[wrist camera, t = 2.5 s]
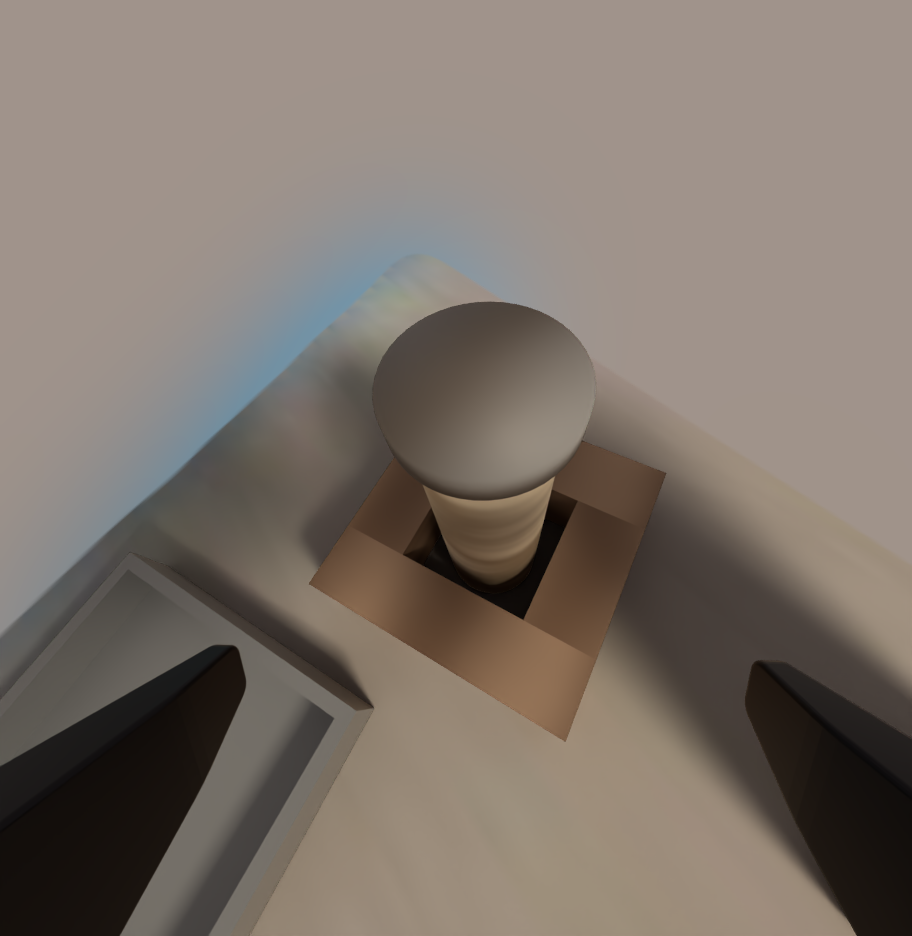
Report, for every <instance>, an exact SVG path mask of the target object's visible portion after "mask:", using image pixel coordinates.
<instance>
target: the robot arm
mask: <svg viewBox="0 0 912 936" xmlns="http://www.w3.org/2000/svg"><path fill="white" fill-rule="evenodd" d="M245 690H246V676H245V672H244V668H243V664H242V660H241V656H240V652H239V649H238V648H237V647H236V646H234V645H219V644H217V645H212V646H210V647H208V648H206V649H205V650H203V651H201V652H199V653H198V654H196V655H194V656H192V657H191V658H189V659H187V660H185V661H184V662H182V663H180V664H178V665H177V666H175V667H173V668H171V669H170V670H168V671H166V672H164V673H163V674H161V675H159V676H157V677H156V678H154V679H152V680H150V681H149V682H147V683H145V684H143V685H142V686H140V687H138V688H136V689H135V690H133V691H131V692H129V693H127V694H126V695H124V696H122V697H120V698H119V699H117V700H115V701H113V702H112V703H110V704H108V705H106V706H105V707H103V708H101V709H99V710H98V711H96V712H94V713H92V714H91V715H89V716H87V717H85V718H84V719H82V720H80V721H78V722H77V723H75V724H73V725H71V726H70V727H68V728H66V729H64V730H63V731H61V732H59V733H57V734H56V735H54V736H52V737H50V738H49V739H47V740H45V741H43V742H42V743H40V744H38V745H36V746H35V747H33V748H31V749H29V750H28V751H26V752H24V753H22V754H20V755H19V756H17V757H15V758H13V759H12V760H10V761H8V762H6V763H5V764H3V765H1V766H0V936H120V935H121V933H122V931H123V930H124V928H125V926H126V924H127V922H128V921H129V919H130V917H131V915H132V913H133V911H134V910H135V908H136V906H137V904H138V902H139V901H140V899H141V897H142V895H143V893H144V892H145V890H146V888H147V886H148V884H149V882H150V881H151V879H152V877H153V875H154V873H155V872H156V870H157V868H158V866H159V864H160V863H161V861H162V859H163V857H164V855H165V853H166V852H167V850H168V848H169V846H170V844H171V843H172V841H173V839H174V837H175V835H176V834H177V832H178V830H179V828H180V826H181V825H182V823H183V821H184V819H185V817H186V815H187V814H188V812H189V810H190V808H191V806H192V805H193V803H194V801H195V799H196V797H197V795H198V793H199V791H200V790H201V788H202V786H203V784H204V782H205V780H206V778H207V776H208V774H209V771H210V769H211V767H212V765H213V763H214V761H215V758H216V756H217V754H218V752H219V749H220V747H221V745H222V743H223V740H224V738H225V736H226V734H227V732H228V729H229V727H230V725H231V723H232V720H233V718H234V716H235V714H236V711H237V709H238V707H239V705H240V703H241V700H242V698H243V696H244V693H245ZM745 707H746V711H747V714H748V717H749V719H750V721H751V724H752V726H753V728H754V731H755V733H756V735H757V737H758V740H759V742H760V744H761V747H762V749H763V751H764V753H765V756H766V758H767V760H768V762H769V765H770V767H771V769H772V772H773V774H774V776H775V778H776V781H777V783H778V785H779V787H780V790H781V792H782V794H783V797H784V799H785V801H786V803H787V805H788V808H789V810H790V812H791V814H792V816H793V818H794V820H795V822H796V824H797V826H798V828H799V830H800V832H801V834H802V836H803V838H804V840H805V842H806V843H807V845H808V847H809V849H810V851H811V853H812V854H813V856H814V858H815V860H816V862H817V864H818V866H819V867H820V869H821V871H822V873H823V875H824V877H825V878H826V880H827V882H828V884H829V886H830V888H831V889H832V891H833V893H834V895H835V897H836V899H837V900H838V902H839V904H840V906H841V908H842V910H843V911H844V913H845V915H846V917H847V919H848V921H849V922H850V924H851V926H852V928H853V930H854V932H855V933H856V935H857V936H912V738H910V737H909V736H907V735H905V734H904V733H902V732H900V731H899V730H897V729H895V728H894V727H892V726H891V725H889V724H887V723H886V722H884V721H882V720H881V719H879V718H877V717H876V716H874V715H872V714H871V713H869V712H867V711H866V710H864V709H862V708H861V707H859V706H857V705H856V704H854V703H852V702H851V701H849V700H847V699H846V698H844V697H842V696H841V695H839V694H837V693H836V692H834V691H832V690H831V689H829V688H827V687H826V686H824V685H822V684H821V683H819V682H817V681H816V680H814V679H812V678H811V677H809V676H807V675H806V674H804V673H802V672H801V671H799V670H798V669H796V668H794V667H793V666H791V665H789V664H787V663H785V662H783V661H769V660H758V661H756V662H754V664H753V665H752V668H751V672H750V677H749V681H748V686H747V691H746V696H745Z"/></svg>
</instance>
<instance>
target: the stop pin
mask: <svg viewBox="0 0 912 936" xmlns="http://www.w3.org/2000/svg"><path fill="white" fill-rule="evenodd" d="M595 397H596V379H595V371H594V368H593V365H592V362H591V359H590V357H589V355H588V353H587V351H586V349H585V348H584V346H583V345H582V344H581V342H580V341H579V340H578V338H577V337H576V336H575V335H574V334H573V333H572V332H571V331H570V330H569V329H567V328H566V327H565V326H564V325H563V324H561V323H560V322H558V321H557V320H555V319H554V318H552V317H550V316H548V315H546V314H544V313H542V312H540V311H537V310H534V309H531V308H528V307H525V306H521V305H517V304H510V303H504V302H475V303H468V304H462V305H458V306H453V307H450V308H447V309H444V310H441V311H438V312H436V313H434V314H431V315H429V316H427V317H425V318H424V319H422V320H420V321H418V322H417V323H415V324H414V325H412V326H411V327H410V328H408V329H407V330H406V331H405V332H404V333H402V334H401V335H400V336H399V337H398V338H397V339H396V340H395V341H394V343H393V344H392V345H391V346H390V347H389V349H388V350H387V352H386V353H385V355H384V356H383V358H382V360H381V362H380V364H379V366H378V369H377V372H376V375H375V378H374V384H373V406H374V412H375V415H376V418H377V421H378V424H379V426H380V428H381V430H382V432H383V435H384V437H385V439H386V441H387V443H388V445H389V447H390V449H391V451H392V453H393V455H394V457H395V458H396V460H397V461H398V463H399V464H400V465H401V467H402V468H403V469H404V470H405V471H406V472H407V473H408V474H409V475H410V476H411V477H413V478H414V479H415V480H417V481H418V482H419V483H421V484H422V485H423V487H424V490H425V492H426V495H427V497H428V500H429V502H430V505H431V508H432V510H433V513H434V515H435V518H436V520H437V523H438V526H439V528H440V531H441V533H442V536H443V538H444V541H445V544H446V546H447V549H448V551H449V554H450V556H451V559H452V562H453V564H454V567H455V569H456V571H457V573H458V575H459V576H460V577H461V579H462V580H463V581H464V582H465V583H466V584H468V585H469V586H471V587H472V588H474V589H476V590H478V591H481V592H485V593H502V592H506V591H509V590H511V589H513V588H515V587H517V586H518V585H519V584H521V583H522V582H523V581H524V580H525V578H526V577H527V576H528V574H529V572H530V571H531V568H532V565H533V561H534V557H535V554H536V550H537V546H538V542H539V538H540V534H541V530H542V526H543V522H544V518H545V514H546V510H547V506H548V502H549V498H550V494H551V490H552V486H553V482H554V478H555V476H556V475H557V474H558V473H559V472H560V471H561V470H562V469H563V468H565V467H566V465H567V464H568V463H569V462H570V460H571V459H572V458H573V457H574V455H575V453H576V452H577V450H578V448H579V447H580V445H581V442H582V439H583V437H584V434H585V431H586V428H587V425H588V422H589V419H590V416H591V413H592V410H593V406H594V401H595Z"/></svg>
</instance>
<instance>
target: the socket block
mask: <svg viewBox="0 0 912 936" xmlns="http://www.w3.org/2000/svg"><path fill="white" fill-rule="evenodd" d="M665 475H666V473H664V472H662V471H659V470H657V469H654V468H651V467H649V466H646V465H644V464H641V463H638V462H636V461H633V460H631V459H628V458H625V457H623V456H620V455H618V454H615V453H613V452H610V451H607V450H605V449H602V448H600V447H597V446H594V445H592V444H589V443H587V442H584V441H582V442H581V445H580V447H579V448H578V450H577V452H576V453H575V455H574V457H573V458H572V459H571V460H570V462H569V463H568V464H567V465H566V467H565V468H563V469H562V470H561V471H560V472H559V473H558V474H557V475H556V476H555V478H554V482H553V486H552V490H551V494H550V498H549V502H548V506H547V510H546V514H545V519H547V520H549V521H552V522H554V523H556V524H558V525H560V526H563V527H565V530H564V532H563V534H562V537H561V539H560V541H559V543H558V545H557V548H556V550H555V552H554V554H553V556H552V558H551V561H550V563H549V565H548V567H547V569H546V572H545V574H544V576H543V578H542V580H541V583H540V585H539V587H538V589H537V591H536V594H535V596H534V598H533V600H532V602H531V604H530V607H529V609H528V611H527V613H526V615H525V618H524V620H522V619H520V618H518V617H516V616H515V615H513V614H511V613H509V612H507V611H505V610H503V609H502V608H500V607H498V606H496V605H494V604H492V603H491V602H489V601H487V600H485V599H483V598H481V597H479V596H478V595H476V594H474V593H472V592H470V591H468V590H467V589H465V588H463V587H461V586H459V585H457V584H455V583H454V582H452V581H450V580H448V579H446V578H444V577H443V576H441V575H439V574H437V573H435V572H433V571H432V570H430V569H428V568H426V567H424V566H423V564H424V563H425V561H426V559H427V558H428V556H429V554H430V552H431V551H432V549H433V547H434V545H435V544H436V542H437V540H438V539H439V537H440V535H441V531H440V528H439V526H438V523H437V520H436V518H435V515H434V513H433V510H432V508H431V505H430V502H429V500H428V497H427V495H426V492H425V490H424V487H423V485H422V484H421V483H419V482H418V481H417V480H415V479H414V478H413V477H411V476H410V475H409V474H408V473H407V472H406V471H405V470H404V469H403V468H402V467H401V465H400V464H399V463H398V461H397V460H396V458H395V457H394V459H393V460H392V462H391V463H390V464H389V466H388V467H387V469H386V470H385V472H384V473H383V475H382V476H381V478H380V479H379V481H378V482H377V484H376V485H375V487H374V488H373V490H372V491H371V492H370V494H369V495H368V497H367V498H366V500H365V501H364V503H363V504H362V506H361V507H360V509H359V510H358V512H357V513H356V515H355V516H354V518H353V519H352V521H351V522H350V523H349V525H348V526H347V528H346V529H345V531H344V532H343V534H342V535H341V537H340V538H339V540H338V541H337V543H336V544H335V546H334V547H333V549H332V550H331V551H330V553H329V554H328V556H327V557H326V559H325V560H324V562H323V563H322V565H321V566H320V568H319V569H318V571H317V572H316V574H315V575H314V577H313V578H312V580H311V581H310V582H309V584H310V585H312V586H313V587H315V588H316V589H318V590H320V591H321V592H323V593H325V594H326V595H328V596H329V597H331V598H333V599H334V600H336V601H338V602H339V603H341V604H342V605H344V606H346V607H347V608H349V609H351V610H352V611H354V612H355V613H357V614H359V615H360V616H362V617H363V618H365V619H367V620H368V621H370V622H372V623H373V624H375V625H376V626H378V627H380V628H381V629H383V630H385V631H386V632H388V633H389V634H391V635H393V636H394V637H396V638H398V639H399V640H401V641H402V642H404V643H406V644H407V645H409V646H411V647H412V648H414V649H415V650H417V651H419V652H420V653H422V654H424V655H425V656H427V657H428V658H430V659H432V660H433V661H435V662H437V663H438V664H440V665H441V666H443V667H445V668H446V669H448V670H450V671H451V672H453V673H454V674H456V675H458V676H459V677H461V678H463V679H464V680H466V681H467V682H469V683H471V684H472V685H474V686H476V687H477V688H479V689H480V690H482V691H484V692H485V693H487V694H489V695H490V696H492V697H493V698H495V699H497V700H498V701H500V702H502V703H503V704H505V705H506V706H508V707H510V708H511V709H513V710H515V711H516V712H518V713H519V714H521V715H523V716H524V717H526V718H528V719H529V720H531V721H532V722H534V723H536V724H537V725H539V726H541V727H542V728H544V729H545V730H547V731H549V732H550V733H552V734H554V735H555V736H557V737H558V738H560V739H562V740H563V741H565V742H566V739H567V736H568V734H569V731H570V728H571V726H572V723H573V720H574V718H575V715H576V712H577V710H578V707H579V704H580V702H581V699H582V696H583V694H584V691H585V688H586V686H587V683H588V680H589V678H590V675H591V672H592V670H593V667H594V664H595V662H596V659H597V656H598V654H599V651H600V648H601V646H602V643H603V640H604V638H605V635H606V632H607V630H608V627H609V624H610V622H611V619H612V616H613V614H614V611H615V608H616V606H617V603H618V600H619V598H620V595H621V592H622V590H623V587H624V584H625V582H626V579H627V576H628V574H629V571H630V568H631V566H632V563H633V560H634V558H635V555H636V552H637V550H638V547H639V544H640V542H641V539H642V536H643V534H644V531H645V528H646V526H647V523H648V521H649V518H650V515H651V513H652V510H653V507H654V505H655V502H656V499H657V497H658V494H659V491H660V489H661V486H662V483H663V481H664V478H665Z"/></svg>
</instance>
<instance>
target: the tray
mask: <svg viewBox="0 0 912 936" xmlns="http://www.w3.org/2000/svg"><path fill="white" fill-rule="evenodd" d="M217 644H219V645H234V646H236V647H237V648H238V649H239V652H240V656H241V660H242V664H243V668H244V672H245V676H246V690H245V693H244V696H243V698H242V700H241V703H240V705H239V707H238V709H237V711H236V714H235V716H234V718H233V720H232V723H231V725H230V727H229V729H228V732H227V734H226V736H225V738H224V740H223V743H222V745H221V747H220V749H219V752H218V754H217V756H216V758H215V761H214V763H213V765H212V767H211V769H210V771H209V774H208V776H207V778H206V780H205V782H204V784H203V786H202V788H201V790H200V791H199V793H198V795H197V797H196V799H195V801H194V803H193V805H192V806H191V808H190V810H189V812H188V814H187V815H186V817H185V819H184V821H183V823H182V825H181V826H180V828H179V830H178V832H177V834H176V835H175V837H174V839H173V841H172V843H171V844H170V846H169V848H168V850H167V852H166V853H165V855H164V857H163V859H162V861H161V863H160V864H159V866H158V868H157V870H156V872H155V873H154V875H153V877H152V879H151V881H150V882H149V884H148V886H147V888H146V890H145V892H144V893H143V895H142V897H141V899H140V901H139V902H138V904H137V906H136V908H135V910H134V911H133V913H132V915H131V917H130V919H129V921H128V922H127V924H126V926H125V928H124V930H123V931H122V933H121V935H120V936H249V935H250V934H251V932H252V930H253V928H254V926H255V924H256V923H257V921H258V919H259V917H260V915H261V914H262V912H263V910H264V908H265V906H266V904H267V903H268V901H269V899H270V897H271V895H272V894H273V892H274V890H275V888H276V886H277V884H278V883H279V881H280V879H281V877H282V875H283V873H284V872H285V870H286V868H287V866H288V864H289V863H290V861H291V859H292V857H293V855H294V853H295V852H296V850H297V848H298V846H299V844H300V843H301V841H302V839H303V837H304V835H305V833H306V832H307V830H308V828H309V826H310V824H311V823H312V821H313V819H314V817H315V815H316V813H317V812H318V810H319V808H320V806H321V804H322V803H323V801H324V799H325V797H326V795H327V793H328V792H329V790H330V788H331V786H332V784H333V783H334V781H335V779H336V777H337V775H338V773H339V772H340V770H341V768H342V766H343V764H344V762H345V761H346V759H347V757H348V755H349V753H350V752H351V750H352V748H353V746H354V744H355V742H356V741H357V739H358V737H359V735H360V733H361V732H362V730H363V728H364V726H365V724H366V722H367V721H368V719H369V717H370V715H371V713H372V712H373V710H374V708H373V707H372V706H370V705H369V704H367V703H366V702H365V701H363V700H362V699H360V698H359V697H357V696H356V695H354V694H353V693H351V692H350V691H349V690H347V689H346V688H344V687H343V686H341V685H340V684H338V683H337V682H335V681H334V680H333V679H331V678H330V677H328V676H327V675H325V674H324V673H322V672H321V671H320V670H318V669H317V668H315V667H314V666H312V665H311V664H309V663H308V662H306V661H305V660H304V659H302V658H301V657H299V656H298V655H296V654H295V653H293V652H292V651H290V650H289V649H288V648H286V647H285V646H283V645H282V644H280V643H279V642H277V641H276V640H274V639H273V638H272V637H270V636H269V635H267V634H266V633H264V632H263V631H261V630H260V629H258V628H257V627H256V626H254V625H253V624H251V623H250V622H248V621H247V620H245V619H244V618H243V617H241V616H240V615H238V614H237V613H235V612H234V611H232V610H231V609H229V608H228V607H227V606H225V605H224V604H222V603H221V602H219V601H218V600H216V599H215V598H213V597H212V596H211V595H209V594H208V593H206V592H205V591H203V590H202V589H200V588H199V587H197V586H196V585H195V584H193V583H192V582H190V581H189V580H187V579H186V578H184V577H183V576H181V575H180V574H179V573H177V572H176V571H174V570H173V569H171V568H170V567H168V566H167V565H164V564H161V563H158V562H156V561H153V560H150V559H147V558H145V557H142V556H139V555H137V554H134V553H131V552H129V553H128V555H127V556H126V557H125V558H124V559H123V560H122V561H121V563H120V564H119V565H118V566H117V567H116V568H115V569H114V571H113V572H112V573H111V574H110V575H109V576H108V577H107V579H106V580H105V581H104V582H103V583H102V584H101V585H100V587H99V588H98V589H97V590H96V591H95V592H94V593H93V595H92V596H91V597H90V598H89V599H88V600H87V601H86V603H85V604H84V605H83V606H82V607H81V608H80V609H79V611H78V612H77V613H76V614H75V615H74V616H73V617H72V619H71V620H70V621H69V622H68V623H67V624H66V625H65V627H64V628H63V629H62V630H61V631H60V632H59V633H58V635H57V636H56V637H55V638H54V639H53V640H52V641H51V643H50V644H49V645H48V646H47V647H46V648H45V649H44V650H43V652H42V653H41V654H40V655H39V656H38V657H37V658H36V660H35V661H34V662H33V663H32V664H31V665H30V666H29V668H28V669H27V670H26V671H25V672H24V673H23V674H22V676H21V677H20V678H19V679H18V680H17V681H16V682H15V684H14V685H13V686H12V687H11V688H10V689H9V690H8V692H7V693H6V694H5V695H4V696H3V697H2V698H1V700H0V766H1V765H3V764H5V763H6V762H8V761H10V760H12V759H13V758H15V757H17V756H19V755H20V754H22V753H24V752H26V751H28V750H29V749H31V748H33V747H35V746H36V745H38V744H40V743H42V742H43V741H45V740H47V739H49V738H50V737H52V736H54V735H56V734H57V733H59V732H61V731H63V730H64V729H66V728H68V727H70V726H71V725H73V724H75V723H77V722H78V721H80V720H82V719H84V718H85V717H87V716H89V715H91V714H92V713H94V712H96V711H98V710H99V709H101V708H103V707H105V706H106V705H108V704H110V703H112V702H113V701H115V700H117V699H119V698H120V697H122V696H124V695H126V694H127V693H129V692H131V691H133V690H135V689H136V688H138V687H140V686H142V685H143V684H145V683H147V682H149V681H150V680H152V679H154V678H156V677H157V676H159V675H161V674H163V673H164V672H166V671H168V670H170V669H171V668H173V667H175V666H177V665H178V664H180V663H182V662H184V661H185V660H187V659H189V658H191V657H192V656H194V655H196V654H198V653H199V652H201V651H203V650H205V649H206V648H208V647H210V646H212V645H217Z"/></svg>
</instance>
